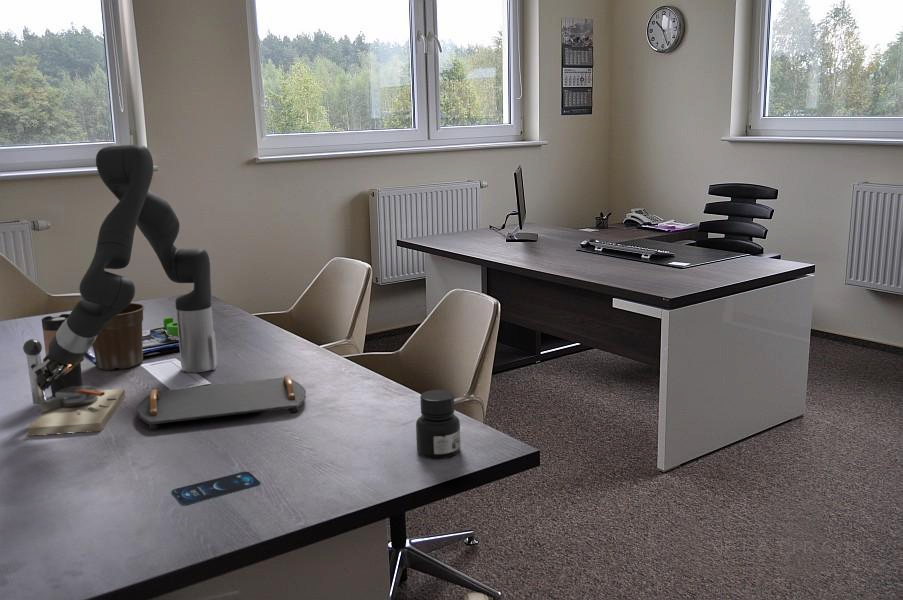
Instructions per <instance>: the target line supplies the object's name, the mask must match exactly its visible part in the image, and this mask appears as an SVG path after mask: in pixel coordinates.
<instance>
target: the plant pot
mask: <svg viewBox="0 0 903 600" xmlns="http://www.w3.org/2000/svg"><path fill="white" fill-rule="evenodd" d="M144 309H145V305H144V304H142V303H137V302H136V303H135V302H131V303H130V304H129V305H128V307H127V308H126V309H124V310H123V311H122V312H120V313H119V314H118V315H116V316H115V317H113V318H112V319H111V320H109V321H108V322H107V323H105V325H104V326H103V328H102V329H101V331H100V332H99V333H98V335H97V337H96V339H95V341H94V343H93V344H92V348H93V353H94V357H95V358H94V359H95V363H96V367H97V368H98V369H99V370H103V371H114V370H115V369H120V370H124V369H131V368H135V367H137V366H138V365H140V364H142V363H143V361H144V352H143V350H144V349H143V322H144Z"/></svg>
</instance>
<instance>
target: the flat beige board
mask: <svg viewBox="0 0 903 600" xmlns="http://www.w3.org/2000/svg"><path fill="white" fill-rule="evenodd" d="M99 391H100V392H104V393H105V395H102V396H98V400H97V401H95V402H94V403H91V404H89V405H85V406H80V407H73V408H64V407H58V408H55V409H52V410H48V411H45V412H41V413H40V414H39V416H38V417H37V418H36V419H35V420H34V421H33V423H31V424H30V425H29V427H28V429H27V430H28V435H29V436H30V437H34V436H33V435H44V434H57V433H68V432H86V433H92V432H91V431H100V432H102V431H103V430H104V428H105V427H106V426H107V424H108V423H109V420H111V418H112V417H113V415H114V414H115V412H117V411H116V410H117V409H118V408H119V406H120V405H121V404H122V402H123V401H124V400H125V398H126V390H125V388H121V389H120V388H119V389H103V390H102V389H101V390H99ZM111 416H112V417H111ZM106 423H107V424H106ZM104 426H105V427H104ZM103 427H104V428H103ZM101 430H102V431H101ZM87 431H88V432H87ZM89 431H90V432H89ZM44 436H45V435H44Z"/></svg>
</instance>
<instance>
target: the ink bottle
mask: <svg viewBox="0 0 903 600" xmlns="http://www.w3.org/2000/svg"><path fill="white" fill-rule="evenodd" d="M419 402H420V413H421V416H420V417H418V418H417V419H416V422H415V432H416V434H415V435H416V436H415V437H416V439H415V440H416V451H417V453H418V454H419V455H420V456H422V457H426V458H428V457H431V458H430V459H436V458H441V459H445V458H444V457H448V458H450V457H449V456H451V457H453V456H455V455H457V454H458V453H459V452H460V451H461V421H460V418H459V417H458V416H457V415H455V414H454V413H455V393H453V392H451V391H449V390H444V389H433V390H428V391H424V392H422V393H421V394H420V401H419ZM452 455H453V456H452Z"/></svg>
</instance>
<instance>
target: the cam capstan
mask: <svg viewBox="0 0 903 600" xmlns="http://www.w3.org/2000/svg"><path fill="white" fill-rule="evenodd" d="M42 349H43V346H42V343H41V342H40V341H39V340H37V339H36V338H35V339H33V338H31V339H29V340H26V341H25V342H24V344H23V347H22V350H23V352H24V353H25V355H26V361H27V362H26V363H27V369H28V376H29V383H30V390H31V391H30V392H31V400H32V404H33V405H37V410H38V412H41V413H43V412H45V411H48V410H52V409H55V408H58V407H64V408H73V407H80V406H85V405H89V404H91V403H94V402H95V401H97V400H98V396H102V395H105V393H104V392H100V390H98V389H97V387H96V386H95V385H94V386H93V385H89V384H82V385H80V386H72V387H68V388H64V389H61V390H59V391H57V392H56V394H55V395H56V397H54V398H53V397H52V398H48V399H47V395H46V389H45V390H41V389H40V388H39V386H38V385H37V382H38V381H39V378H38V376H37V375H36V374H35V373H34V371H33V370H32V368H31V365H33V364H36V365H37V364H41V363H42V356H41V352H42Z"/></svg>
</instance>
